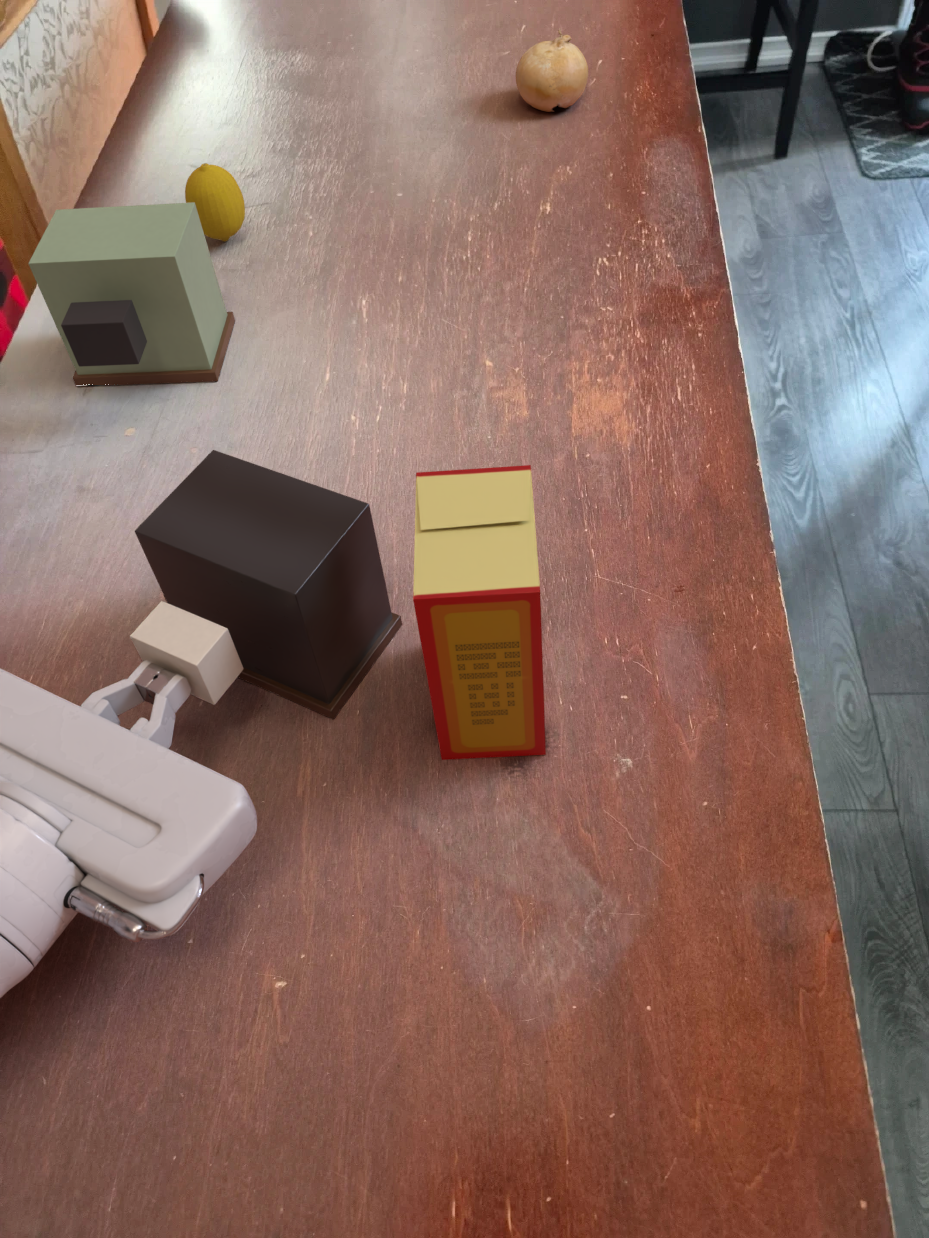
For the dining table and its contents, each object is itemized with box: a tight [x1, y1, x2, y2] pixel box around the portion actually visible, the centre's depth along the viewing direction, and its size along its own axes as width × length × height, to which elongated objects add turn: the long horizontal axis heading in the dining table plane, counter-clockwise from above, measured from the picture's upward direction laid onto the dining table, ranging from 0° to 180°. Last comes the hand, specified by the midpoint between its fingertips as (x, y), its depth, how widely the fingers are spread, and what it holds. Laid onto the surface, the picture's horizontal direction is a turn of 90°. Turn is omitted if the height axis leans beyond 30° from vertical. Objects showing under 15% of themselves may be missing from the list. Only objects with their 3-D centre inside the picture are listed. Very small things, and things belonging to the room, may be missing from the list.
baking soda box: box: [412, 464, 547, 761], centre depth 64 cm, size 10×6×16 cm
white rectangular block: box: [129, 600, 244, 706], centre depth 64 cm, size 3×5×4 cm, turn 61°
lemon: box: [184, 162, 246, 243], centre depth 104 cm, size 6×6×8 cm
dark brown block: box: [61, 300, 147, 367], centre depth 85 cm, size 3×5×4 cm, turn 88°
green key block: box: [27, 202, 236, 386], centre depth 92 cm, size 9×13×12 cm
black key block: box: [134, 449, 403, 720], centre depth 69 cm, size 9×13×12 cm
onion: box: [515, 27, 589, 113], centre depth 117 cm, size 8×8×7 cm
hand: (169, 674), depth 63 cm, fingers closed
